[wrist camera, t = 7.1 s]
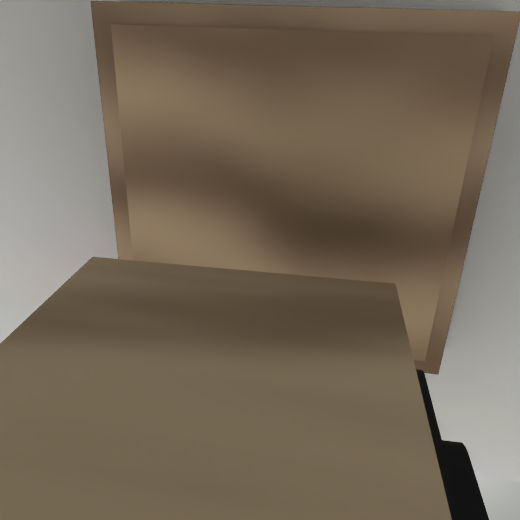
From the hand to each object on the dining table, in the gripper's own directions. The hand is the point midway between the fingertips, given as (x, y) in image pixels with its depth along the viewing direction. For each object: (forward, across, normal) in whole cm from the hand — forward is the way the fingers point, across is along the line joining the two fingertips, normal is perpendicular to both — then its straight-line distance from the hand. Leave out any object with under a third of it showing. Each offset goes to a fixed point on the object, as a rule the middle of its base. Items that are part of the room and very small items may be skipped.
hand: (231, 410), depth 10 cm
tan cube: (+1, 0, 0) cm, 1 cm away
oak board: (+15, 0, 0) cm, 15 cm away
